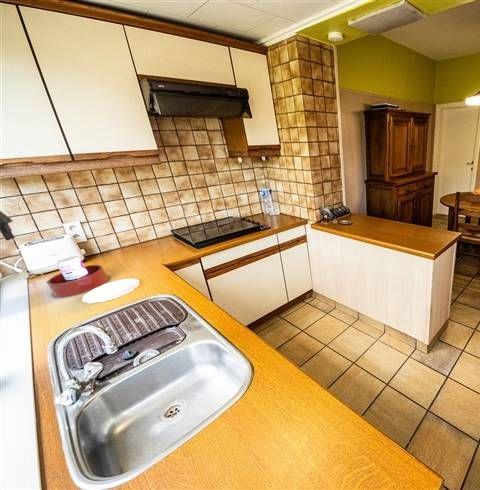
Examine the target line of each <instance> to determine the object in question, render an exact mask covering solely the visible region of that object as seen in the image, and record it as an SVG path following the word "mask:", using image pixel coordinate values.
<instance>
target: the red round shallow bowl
mask: <svg viewBox="0 0 480 490" xmlns="http://www.w3.org/2000/svg"><path fill="white" fill-rule="evenodd" d="M84 266H85V268H86V270H87V272H88V274H89V276H87V277H84V278H81V279H78V280H75V281H71V282H67V281H66V280H65V278H64V276H63V274H62V273H61V272H60V273H57V274H55V275H54V276H52V277H51V278H49V279H48V280H47V281H46V284H47V286H48V287H49V289H50V290H51V292H52V293H53V295H54V296H55V297H56V298H66V297H72V296H73V297H74V296H76V295H81V294H84V293H88V292H90V291H91V290H93V289H95V288H97V287H100V286H102V285H104V284H106V283H107V282H108V280H109V277H108V275H107V273H106V271H105V269H104V267H103V266H102V265H101V264H89V265H84Z"/></svg>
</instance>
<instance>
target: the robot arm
mask: <svg viewBox="0 0 480 490" xmlns="http://www.w3.org/2000/svg"><path fill="white" fill-rule="evenodd" d="M12 222H13V220H12V218H10V217H9V216H8V215H7V214H5V213H4V212H2V211H1V210H0V234H1V235H2V236H3V237H4V239H5V241H11V240H14V239H15V238H16V237H15V236H14V234H13V232H12V228H11V227H10V225H9V224H11V223H12Z"/></svg>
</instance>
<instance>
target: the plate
mask: <svg viewBox="0 0 480 490" xmlns="http://www.w3.org/2000/svg"><path fill="white" fill-rule="evenodd" d="M139 285H140V280H139V279H136V278H123V279H118V280H117V279H116V280H114V281H111V282H110V281H109V282H108V283H107V282H106V283H104V284H102V285H101V286H99V287H97V288H95V289H92V290H90V291H88V292H86V293H85V294H84V295H83V296H82V299H81V302H82V303H86V304H96V303H104V302H109V301H112V300H115V299H118V298H121V297H124V296H125V295H127V294H128V293H130V292H132V291H134V290H135V289H136V288H137V287H138V286H139Z"/></svg>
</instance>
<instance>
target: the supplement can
mask: <svg viewBox="0 0 480 490" xmlns="http://www.w3.org/2000/svg"><path fill="white" fill-rule="evenodd" d="M56 266H57V268H58V269H59V271H60V273H62V274H63V276H64V278H65V280H66V281H67V282H71V281H75V280H78V279H81V278H84V277H87V276H89V274H88V272H87V270H86V268H85V266H86V265H85V264H84V262H83V261H82V258H81V257H79V256H78V255H71V256H66V257H63V258H61V259H58V260H57V261H56Z"/></svg>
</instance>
